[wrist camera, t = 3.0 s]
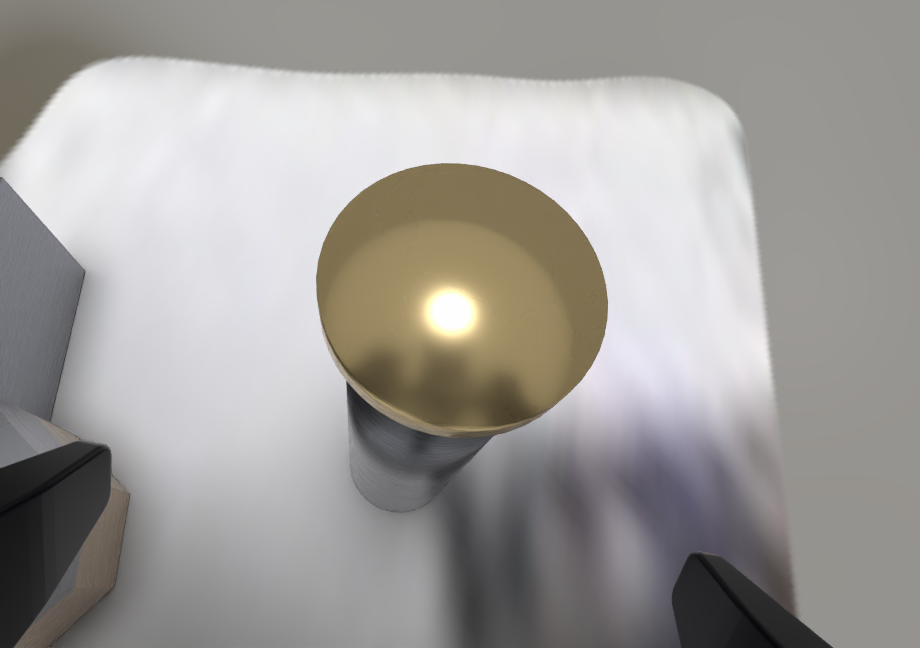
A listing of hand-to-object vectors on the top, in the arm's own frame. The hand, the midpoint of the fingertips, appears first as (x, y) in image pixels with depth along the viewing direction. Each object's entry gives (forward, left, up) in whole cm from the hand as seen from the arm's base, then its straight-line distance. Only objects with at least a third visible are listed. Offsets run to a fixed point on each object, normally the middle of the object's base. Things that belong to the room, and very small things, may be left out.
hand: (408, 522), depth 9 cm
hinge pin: (+3, -1, -10) cm, 10 cm away
